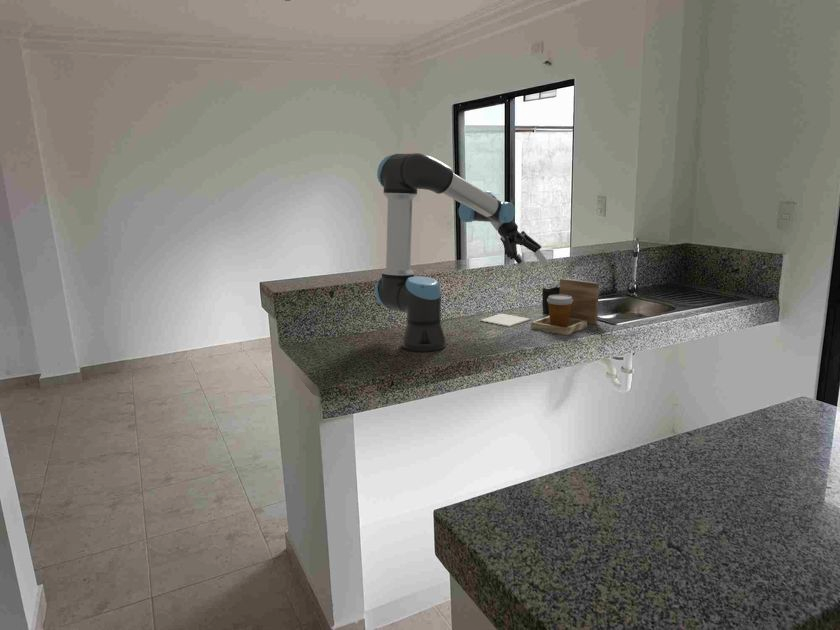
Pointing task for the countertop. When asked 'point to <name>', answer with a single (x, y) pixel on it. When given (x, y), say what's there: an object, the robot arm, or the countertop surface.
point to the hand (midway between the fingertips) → (536, 266)
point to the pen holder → (545, 296)
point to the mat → (505, 320)
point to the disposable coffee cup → (559, 309)
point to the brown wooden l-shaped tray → (574, 307)
